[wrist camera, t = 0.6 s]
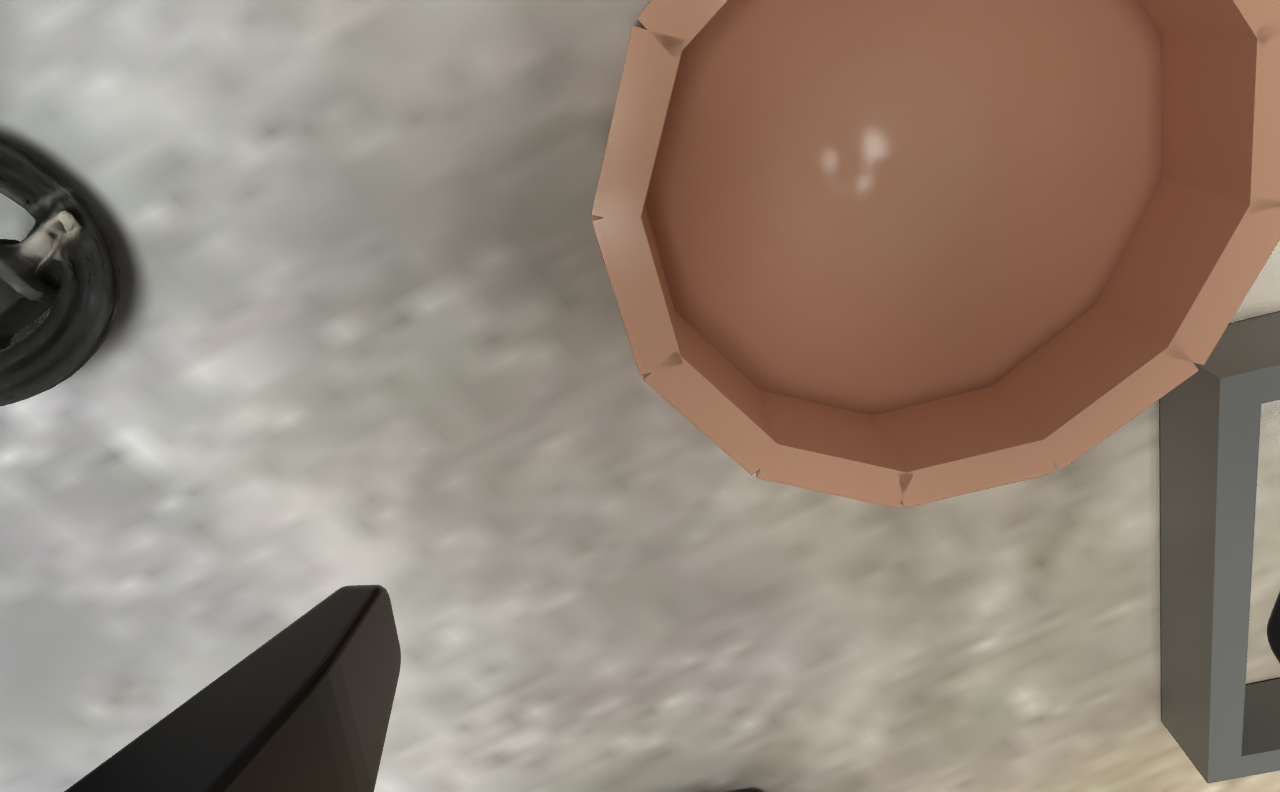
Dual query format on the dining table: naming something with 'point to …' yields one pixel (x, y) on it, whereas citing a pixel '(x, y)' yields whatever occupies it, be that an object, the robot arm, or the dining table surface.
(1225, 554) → the gray square frame
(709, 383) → the bowl
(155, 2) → the dining table surface
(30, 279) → the milk frother
